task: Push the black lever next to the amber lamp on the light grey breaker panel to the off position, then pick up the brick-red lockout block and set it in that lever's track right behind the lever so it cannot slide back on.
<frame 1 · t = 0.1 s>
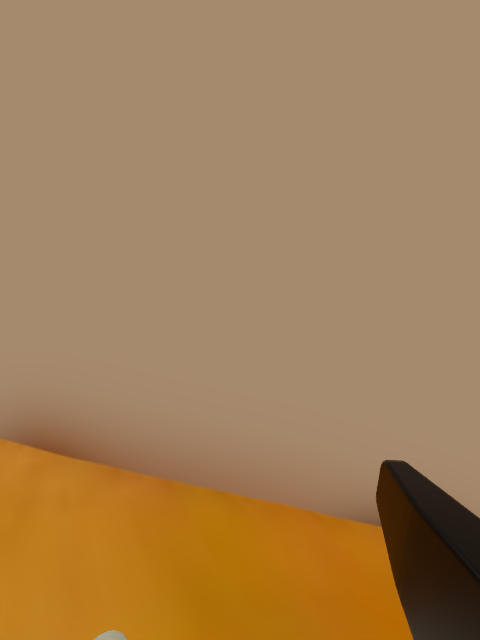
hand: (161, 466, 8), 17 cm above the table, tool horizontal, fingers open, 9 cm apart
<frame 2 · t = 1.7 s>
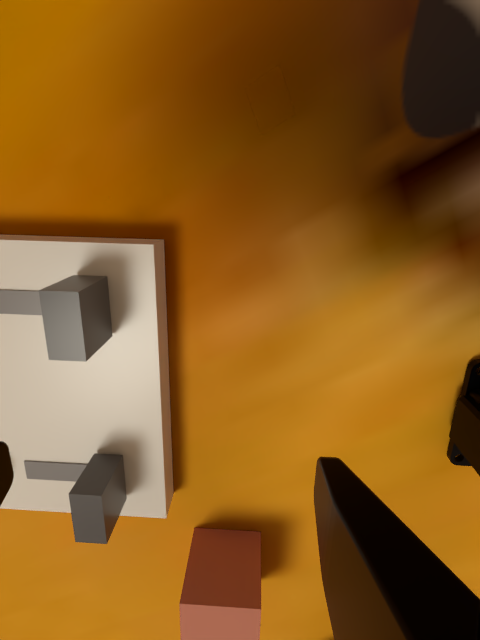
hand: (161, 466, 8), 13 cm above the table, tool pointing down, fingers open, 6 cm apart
breaker panel: (75, 376, 22), on the table
lever tagged: (79, 315, 17), point 4 cm above the table, slide at 0.0 cm
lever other: (100, 496, 20), point 4 cm above the table, slide at 0.0 cm
lockout block: (227, 553, 26), on the table
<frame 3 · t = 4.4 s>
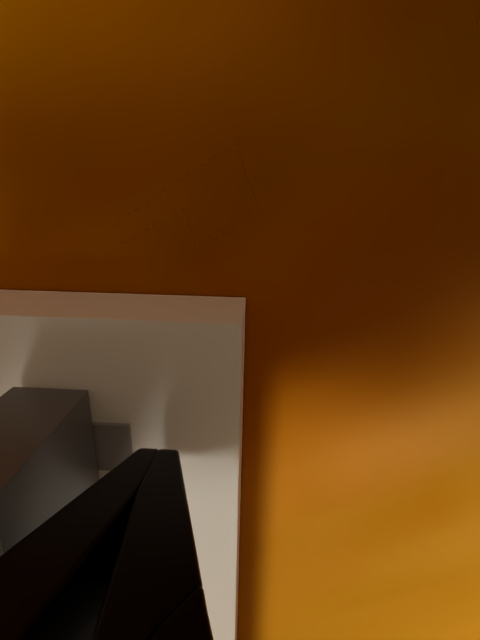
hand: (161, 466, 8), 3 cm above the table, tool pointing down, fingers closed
breaker panel: (66, 534, 12), on the table
lever tagged: (19, 500, 7), point 4 cm above the table, slide at 1.0 cm, touching gripper
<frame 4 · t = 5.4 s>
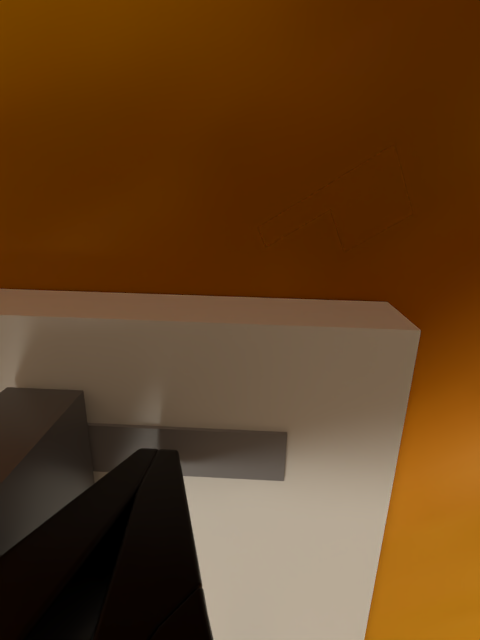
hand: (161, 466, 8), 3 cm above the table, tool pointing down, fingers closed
breaker panel: (171, 542, 12), on the table
lever tagged: (12, 503, 7), point 4 cm above the table, slide at 4.4 cm, touching gripper
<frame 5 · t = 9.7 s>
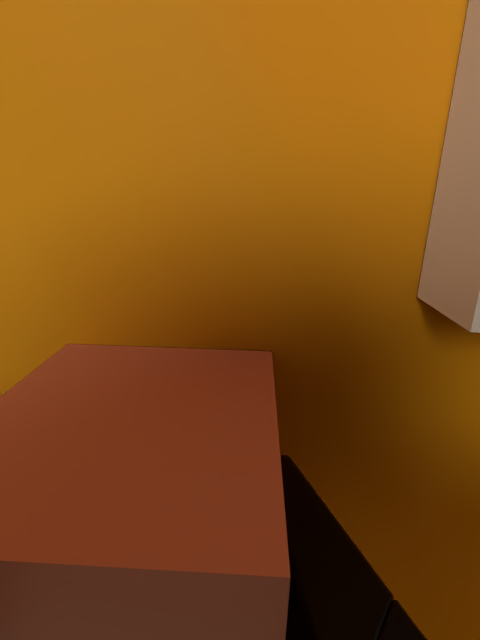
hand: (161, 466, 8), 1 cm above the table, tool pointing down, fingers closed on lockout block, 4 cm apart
lockout block: (172, 435, 9), on the table, touching gripper
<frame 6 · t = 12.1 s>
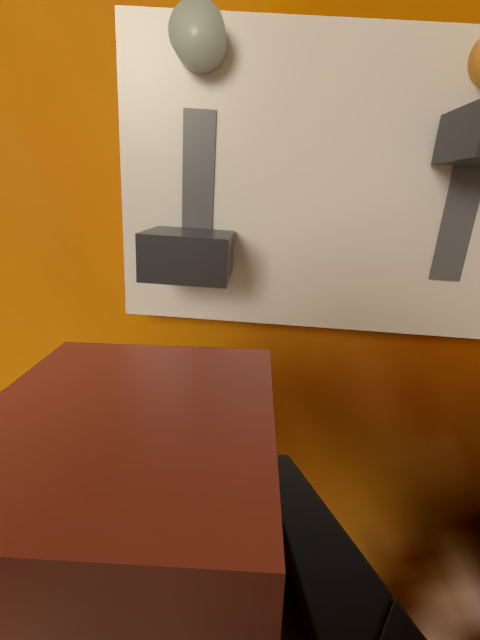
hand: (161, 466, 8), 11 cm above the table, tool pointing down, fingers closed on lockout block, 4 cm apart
breaker panel: (321, 191, 16), on the table
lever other: (189, 254, 14), point 4 cm above the table, slide at 0.0 cm
lockout block: (170, 433, 9), point 10 cm above the table, touching gripper
when the fingers open (4 cm above the table, at t = 14.3 s): lockout block drops 1 cm, resting on breaker panel.
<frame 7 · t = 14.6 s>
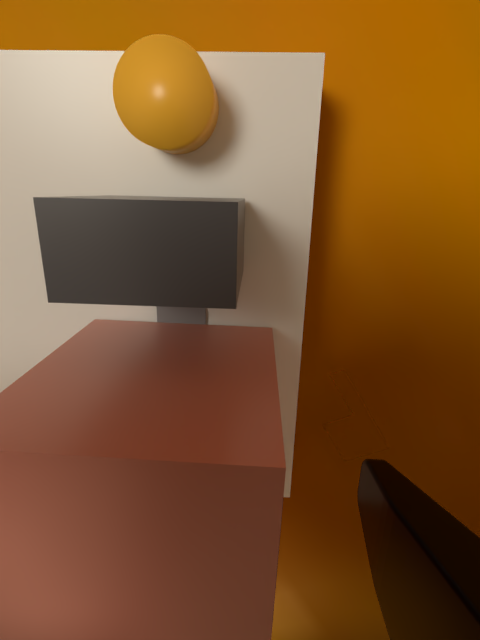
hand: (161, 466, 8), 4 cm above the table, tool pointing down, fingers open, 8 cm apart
breaker panel: (29, 287, 12), on the table
lever tagged: (161, 242, 7), point 4 cm above the table, slide at 4.4 cm
lockout block: (184, 401, 10), point 2 cm above the table, touching breaker panel
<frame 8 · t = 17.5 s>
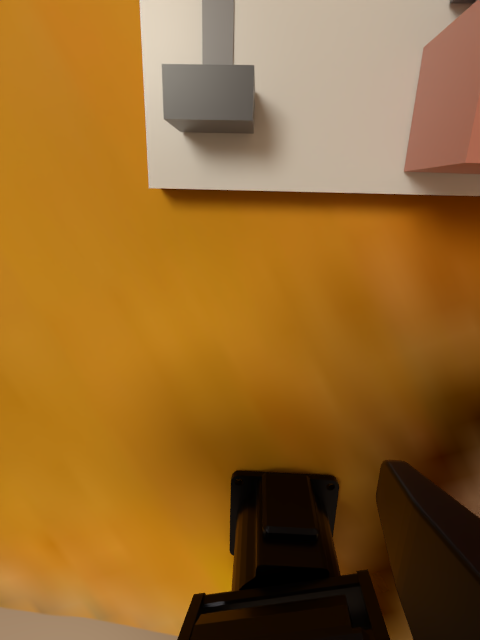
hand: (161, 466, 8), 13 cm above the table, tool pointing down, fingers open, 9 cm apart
breaker panel: (338, 58, 17), on the table
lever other: (213, 102, 14), point 4 cm above the table, slide at 0.0 cm
lockout block: (469, 114, 15), point 2 cm above the table, touching breaker panel
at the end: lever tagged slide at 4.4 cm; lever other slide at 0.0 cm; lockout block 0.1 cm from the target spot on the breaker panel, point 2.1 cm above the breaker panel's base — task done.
